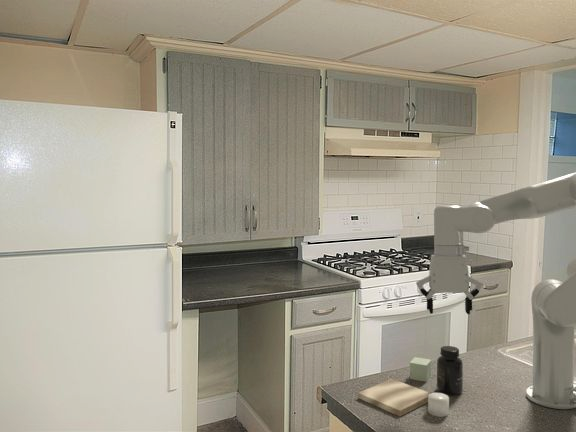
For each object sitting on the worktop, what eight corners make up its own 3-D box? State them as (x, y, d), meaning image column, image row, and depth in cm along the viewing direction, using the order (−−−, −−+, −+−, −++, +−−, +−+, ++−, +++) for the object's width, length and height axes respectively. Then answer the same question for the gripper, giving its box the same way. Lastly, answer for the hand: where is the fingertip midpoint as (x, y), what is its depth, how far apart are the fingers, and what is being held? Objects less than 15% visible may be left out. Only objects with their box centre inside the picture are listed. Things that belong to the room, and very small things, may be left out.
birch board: (432, 399, 131) (432, 393, 131) (400, 416, 122) (400, 410, 122) (391, 383, 142) (391, 378, 141) (358, 398, 133) (358, 392, 133)
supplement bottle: (464, 396, 132) (464, 353, 131) (438, 395, 133) (438, 352, 132) (460, 386, 138) (460, 344, 138) (435, 384, 140) (435, 343, 139)
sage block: (431, 376, 146) (431, 359, 146) (426, 382, 142) (426, 365, 142) (414, 373, 149) (414, 357, 149) (409, 379, 145) (409, 362, 144)
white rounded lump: (452, 412, 123) (452, 397, 123) (441, 419, 120) (441, 403, 120) (435, 405, 127) (435, 390, 127) (424, 412, 124) (424, 396, 124)
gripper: (479, 248, 135) (479, 309, 136) (414, 249, 138) (415, 308, 139) (485, 252, 128) (485, 317, 129) (417, 253, 131) (417, 315, 132)
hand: (449, 312), depth 134 cm, fingers open, 9 cm apart
